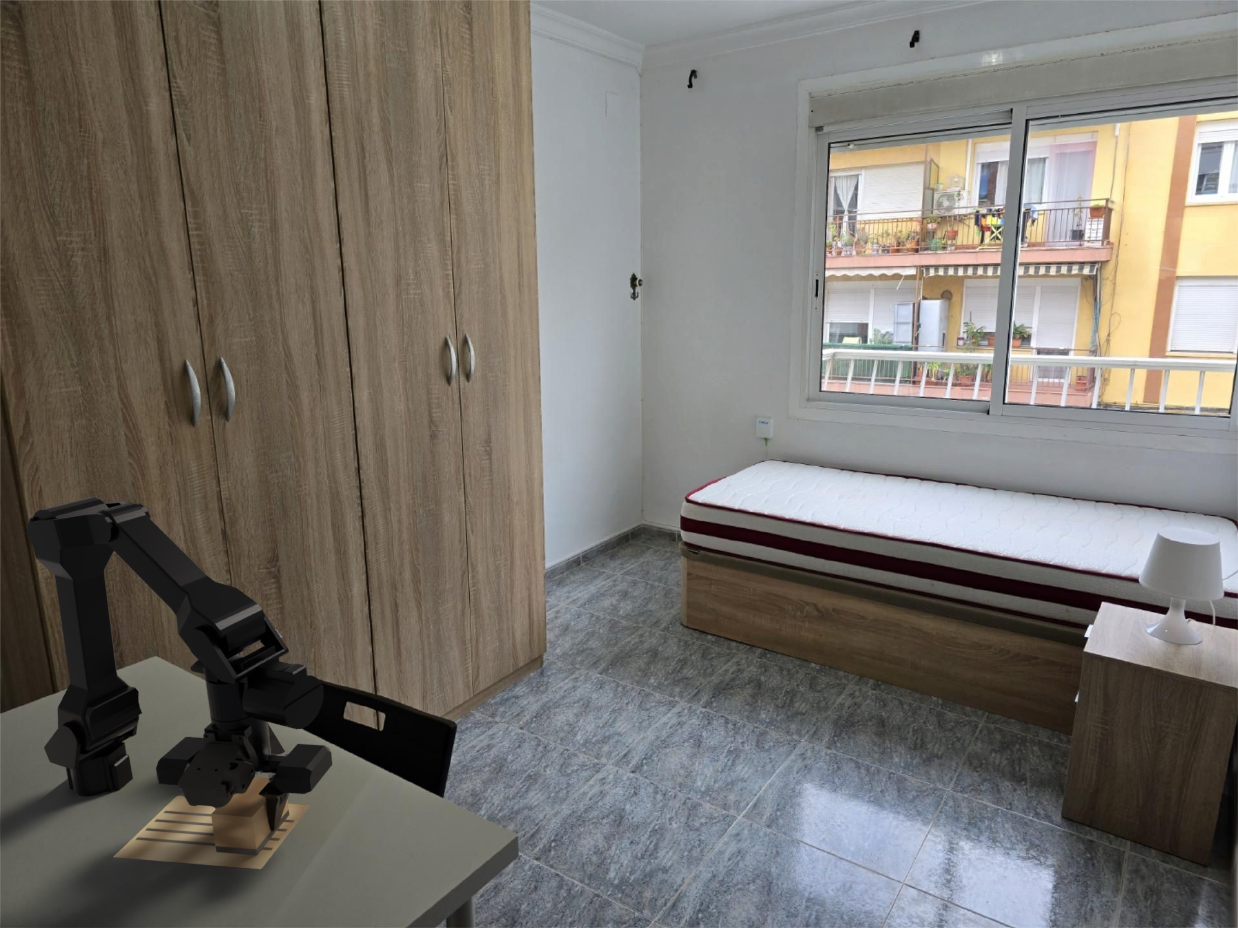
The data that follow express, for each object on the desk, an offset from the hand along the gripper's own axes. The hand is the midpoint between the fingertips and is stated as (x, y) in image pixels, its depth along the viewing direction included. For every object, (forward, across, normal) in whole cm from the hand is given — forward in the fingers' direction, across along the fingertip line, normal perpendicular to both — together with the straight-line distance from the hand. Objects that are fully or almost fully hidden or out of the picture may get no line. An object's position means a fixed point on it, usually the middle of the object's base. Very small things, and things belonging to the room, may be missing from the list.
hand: (253, 826), depth 92 cm
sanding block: (+1, 0, 0) cm, 1 cm away
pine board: (+2, -5, 0) cm, 5 cm away
